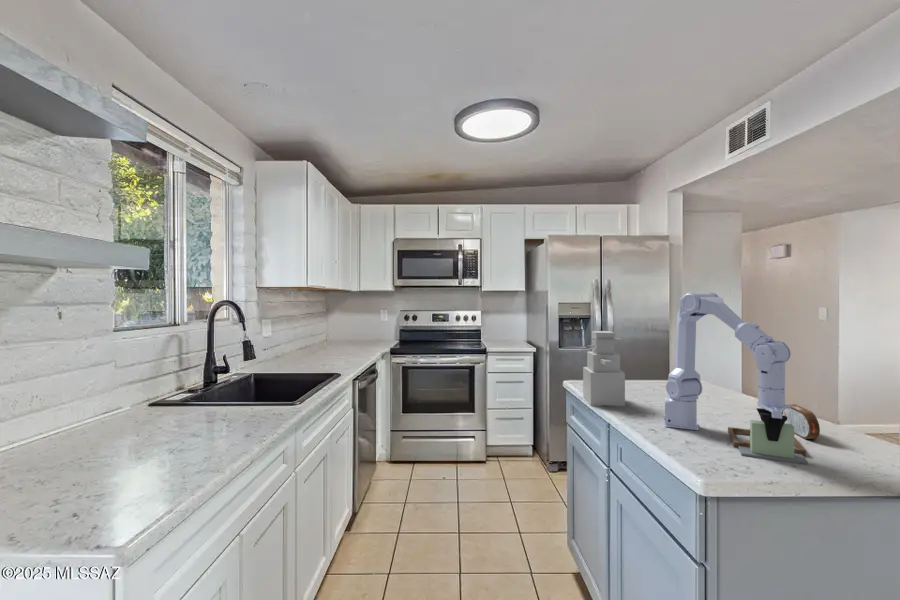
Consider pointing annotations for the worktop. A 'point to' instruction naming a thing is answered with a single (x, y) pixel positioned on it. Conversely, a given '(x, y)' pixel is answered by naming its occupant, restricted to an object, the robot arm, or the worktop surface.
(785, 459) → the slate mat
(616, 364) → the stacked tiered boxes
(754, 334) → the robot arm
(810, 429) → the tin
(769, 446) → the board
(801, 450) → the brown flat square frame
